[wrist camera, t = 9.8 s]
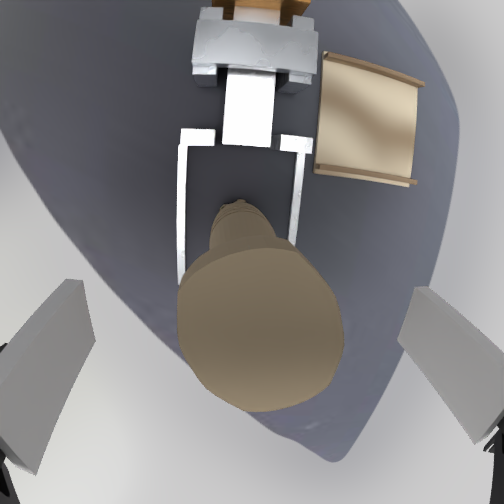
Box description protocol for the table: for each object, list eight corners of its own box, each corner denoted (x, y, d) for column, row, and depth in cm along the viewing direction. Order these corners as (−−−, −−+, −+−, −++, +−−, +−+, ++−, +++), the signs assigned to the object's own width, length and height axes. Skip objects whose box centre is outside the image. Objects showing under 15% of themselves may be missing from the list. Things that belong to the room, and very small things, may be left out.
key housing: (204, 28, 17) (200, 0, 12) (299, 37, 17) (319, 13, 13) (197, 86, 18) (190, 70, 14) (295, 94, 19) (315, 81, 15)
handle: (254, 169, 21) (321, 223, 7) (279, 246, 23) (351, 385, 10) (193, 190, 21) (143, 284, 7) (222, 265, 24) (228, 422, 10)
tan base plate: (322, 52, 18) (328, 47, 17) (415, 80, 19) (424, 78, 18) (312, 172, 22) (318, 174, 20) (406, 186, 23) (415, 189, 21)
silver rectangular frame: (180, 131, 19) (171, 129, 16) (304, 139, 21) (322, 139, 17) (179, 292, 24) (172, 318, 20) (286, 294, 25) (297, 320, 21)
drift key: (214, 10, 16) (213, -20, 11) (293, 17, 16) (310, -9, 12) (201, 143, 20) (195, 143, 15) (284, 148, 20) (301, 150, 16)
